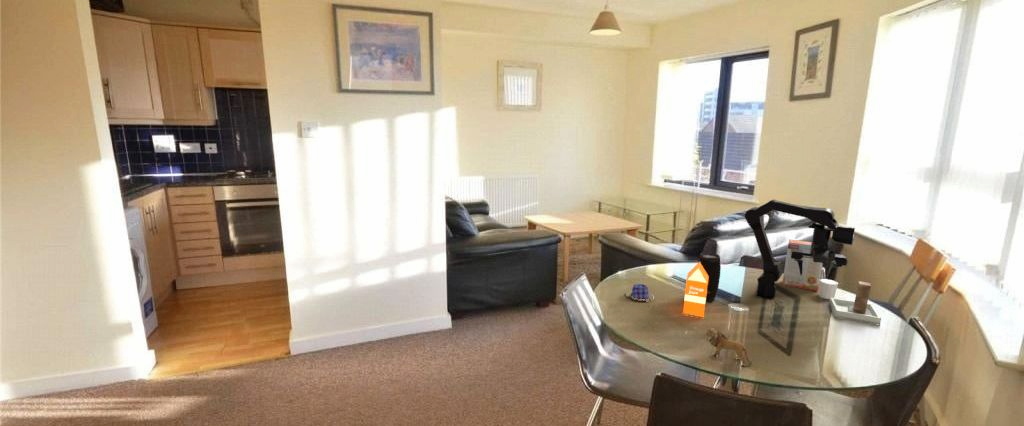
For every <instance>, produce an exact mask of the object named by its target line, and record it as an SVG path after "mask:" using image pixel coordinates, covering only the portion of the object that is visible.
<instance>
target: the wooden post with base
mask: <svg viewBox="0 0 1024 426" xmlns="http://www.w3.org/2000/svg"><path fill="white" fill-rule="evenodd" d="M871 287H872V285H871V283H870V282H867V281H859V280H858V283H857V288H856V293H855V298H854V301H855V302H854V306H849V308H848V309H849V312H853V313H858V314H864V315H870V313H869V310H868V309H866V307H867V303H868V302H869V301H868V300H869V297H870V293H871Z"/></svg>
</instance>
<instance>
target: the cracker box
mask: <svg viewBox="0 0 1024 426" xmlns="http://www.w3.org/2000/svg"><path fill="white" fill-rule="evenodd" d="M811 243H812V241H806V240H805V241H803V240H796V239H788V245H787V251H786V258H785V264H784V269H783V277H782V285H783V286H788V287H793V288H799V289H803V290H804V289H805V290H809V291H815V292H818V289H819V279H821V276H822V275H821V274H822V270H823V265H824V263H819V262H818V263H816V262H814V261H813V258H806V257H803V258H802V260H803V265H802V275H800V271H799V266H798V262H797V261H795V260H794V259H792V258H791V257H790V251H791V249H799V250H802V251H803V252H804V253H810V249H811Z"/></svg>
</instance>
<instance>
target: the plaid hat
mask: <svg viewBox="0 0 1024 426" xmlns="http://www.w3.org/2000/svg"><path fill="white" fill-rule="evenodd" d="M631 291H632V292H631V294H630V295H631V296H633V297H634V298H638V299H645V300H646V299H648V298H650V297H649V294H651V293H650V292H649V288H648V286H647V285H646V284H644V283H643V284H641V283H636V284H634V285H633V287H632V289H631ZM651 295H652V296H653V300H655V296H654V295H653V294H651ZM648 300H649V299H648ZM653 300H651V301H650V302H652V301H653ZM646 302H649V301H646Z"/></svg>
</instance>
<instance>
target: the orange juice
mask: <svg viewBox="0 0 1024 426" xmlns="http://www.w3.org/2000/svg"><path fill="white" fill-rule="evenodd" d="M708 278H709V276H708V275H707V273H706V271H705V270H704V268H703V266H702V265H701V263H700V262H699V263H698V262H697V263H696V264H695V266H693V268H691V269H690V270H689V271H688V273H687V277H686V281H685V283H686V284H685V293H684V301H683V309H682V310H683V311H682V314H683V313H685V314H690V315H695V316H700V317H703V318H705V310H706V309H705V307H706V302H707V300H706V294H707V285H708Z"/></svg>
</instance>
